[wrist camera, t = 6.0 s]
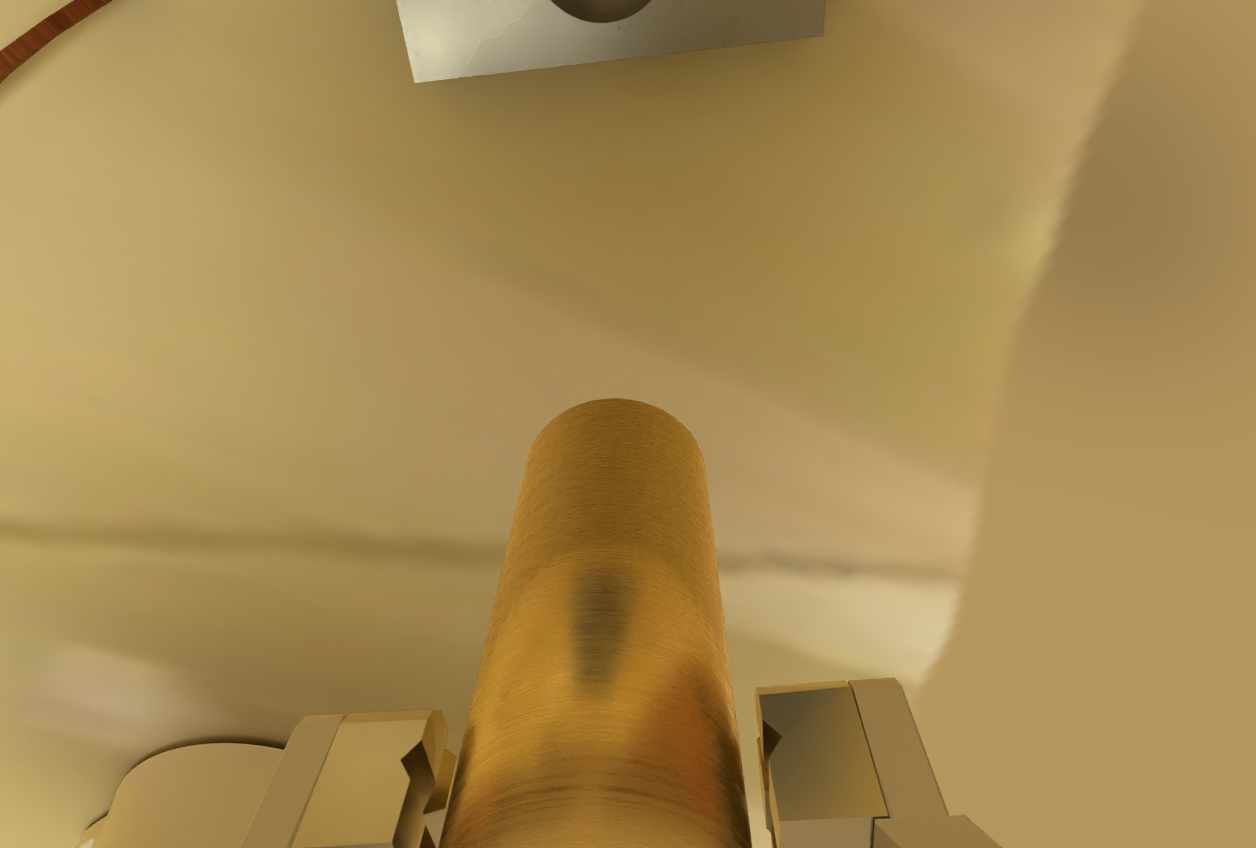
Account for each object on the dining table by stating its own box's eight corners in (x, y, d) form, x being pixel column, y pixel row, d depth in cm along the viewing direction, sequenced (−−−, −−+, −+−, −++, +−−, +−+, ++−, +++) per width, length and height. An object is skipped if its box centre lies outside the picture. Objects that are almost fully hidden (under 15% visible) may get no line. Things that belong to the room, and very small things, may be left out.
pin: (740, 561, 14) (933, 1746, 5) (519, 577, 15) (289, 1729, 5) (729, 359, 12) (1022, 1677, 3) (474, 382, 13) (-36, 1663, 3)
